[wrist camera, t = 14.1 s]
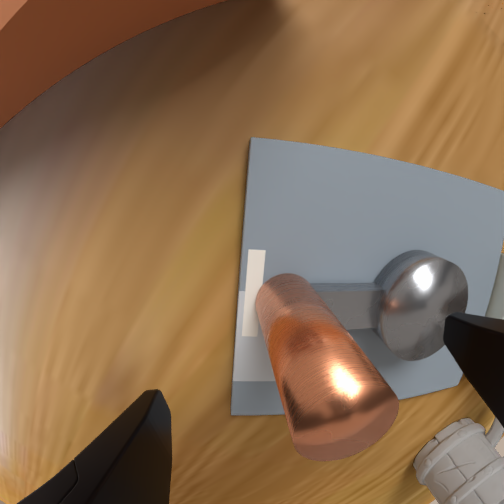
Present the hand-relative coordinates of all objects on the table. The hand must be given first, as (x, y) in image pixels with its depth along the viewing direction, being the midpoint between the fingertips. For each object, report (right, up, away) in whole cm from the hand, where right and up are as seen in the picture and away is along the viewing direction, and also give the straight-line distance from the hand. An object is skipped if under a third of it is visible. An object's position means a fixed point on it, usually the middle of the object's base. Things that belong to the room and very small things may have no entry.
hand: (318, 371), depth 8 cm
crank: (+3, +1, +5) cm, 7 cm away
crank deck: (+6, +1, +7) cm, 9 cm away
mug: (+17, -13, +12) cm, 25 cm away
